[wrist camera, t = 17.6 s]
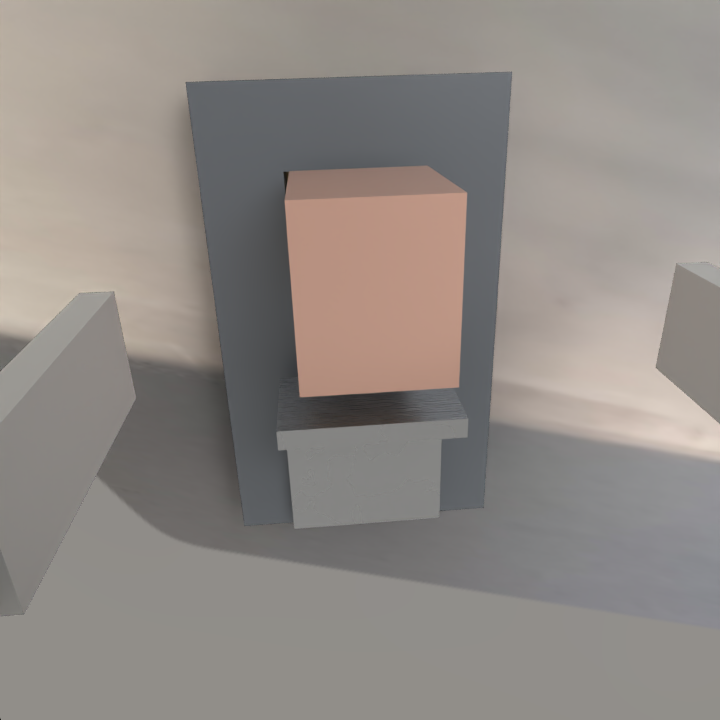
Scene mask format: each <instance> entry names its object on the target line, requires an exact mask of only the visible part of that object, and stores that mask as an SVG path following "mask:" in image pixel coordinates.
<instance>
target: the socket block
mask: <svg viewBox="0 0 720 720" xmlns="http://www.w3.org/2000/svg"><path fill="white" fill-rule="evenodd" d="M511 81H512V72H489V73H457V74H426V75H394V76H363V77H331V78H299V79H268V80H236V81H205V82H186V88H187V96H188V104H189V111H190V119H191V126H192V134H193V141H194V149H195V156H196V164H197V171H198V179H199V187H200V194H201V202H202V209H203V217H204V224H205V232H206V239H207V247H208V254H209V262H210V270H211V277H212V285H213V292H214V300H215V307H216V315H217V322H218V330H219V337H220V345H221V353H222V360H223V368H224V375H225V383H226V390H227V398H228V405H229V413H230V420H231V428H232V436H233V443H234V451H235V458H236V466H237V473H238V481H239V488H240V496H241V504H242V511H243V519H244V526H250V525H263V524H276V523H289V522H294V521H293V510H292V499H291V488H290V477H289V466H288V455H287V450H279V451H278V443H277V433H276V430H277V417H278V404H279V391H280V378H292V377H298V368H297V355H296V342H295V329H294V316H293V303H292V290H291V277H290V265H289V252H288V239H287V226H286V213H285V195H286V188H287V182H288V176H289V171H305V170H330V169H355V168H379V167H404V166H429V167H430V168H432V169H433V170H435V171H436V172H438V173H439V174H441V175H442V176H444V177H445V178H447V179H448V180H449V181H451V182H452V183H454V184H455V185H457V186H458V187H460V188H461V189H463V190H464V191H466V192H467V209H466V233H465V257H464V280H463V304H462V328H461V351H460V375H459V387H457V388H454V390H455V392H456V394H457V396H458V398H459V400H460V403H461V405H462V407H463V409H464V411H465V413H466V415H467V417H468V436H467V437H466V438H452V439H442V442H441V476H440V510H439V511H445V510H458V509H471V508H484V493H485V478H486V462H487V447H488V432H489V417H490V401H491V386H492V371H493V356H494V340H495V325H496V310H497V294H498V279H499V264H500V249H501V233H502V218H503V203H504V188H505V172H506V157H507V142H508V127H509V111H510V96H511Z"/></svg>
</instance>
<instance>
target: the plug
mask: <svg viewBox="0 0 720 720" xmlns="http://www.w3.org/2000/svg"><path fill="white" fill-rule="evenodd" d="M466 209H467V192H466V191H464V190H463V189H461V188H460V187H458V186H457V185H455V184H454V183H452V182H451V181H449V180H448V179H447V178H445V177H444V176H442V175H441V174H439V173H438V172H436V171H435V170H433V169H432V168H430V167H429V166H404V167H379V168H355V169H330V170H305V171H289V176H288V182H287V188H286V195H285V213H286V226H287V239H288V252H289V265H290V277H291V290H292V303H293V316H294V329H295V342H296V355H297V368H298V381H299V394H300V397H316V396H331V395H347V394H363V393H379V392H394V391H410V390H426V389H441V388H457V387H459V375H460V351H461V328H462V304H463V280H464V257H465V233H466Z"/></svg>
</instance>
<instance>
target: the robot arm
mask: <svg viewBox="0 0 720 720" xmlns="http://www.w3.org/2000/svg"><path fill="white" fill-rule="evenodd" d="M656 368H657V369H658V370H659V371H660V372H661V373H662V374H663V375H665V376H666V377H667V378H668V379H669V380H670V381H671V382H673V383H674V384H675V385H676V386H677V387H678V388H679V389H681V390H682V391H683V392H684V393H685V394H686V395H687V396H689V397H690V398H691V399H692V400H693V401H694V402H695V403H697V404H698V405H699V406H700V407H701V408H702V409H703V410H705V411H706V412H707V413H708V414H709V415H710V416H711V417H713V418H714V419H715V420H716V421H717V422H718V423H719V424H720V268H718V267H716V266H714V265H712V264H710V263H708V262H700V263H680V264H676V268H675V273H674V278H673V283H672V288H671V293H670V298H669V303H668V308H667V313H666V318H665V323H664V328H663V333H662V338H661V343H660V348H659V353H658V358H657V363H656ZM135 400H136V395H135V390H134V385H133V381H132V376H131V371H130V366H129V362H128V357H127V352H126V347H125V342H124V338H123V333H122V328H121V323H120V319H119V314H118V309H117V304H116V300H115V295H114V292H95V293H79V294H78V295H77V296H76V297H75V298H74V299H73V300H72V301H71V302H70V303H69V304H68V305H67V306H66V307H65V308H64V309H63V310H62V311H61V312H60V313H59V314H58V315H57V316H56V317H55V318H54V319H53V320H52V321H51V322H50V323H49V324H48V325H47V326H46V327H45V328H44V329H43V330H42V331H41V332H40V333H39V334H38V335H37V336H36V337H35V338H34V339H33V340H32V341H31V342H30V343H29V344H28V345H27V346H26V347H25V348H24V349H23V350H22V351H21V352H20V353H19V354H18V355H17V356H16V357H15V358H14V359H13V360H12V361H11V362H10V363H9V364H8V365H7V366H6V367H5V368H4V369H3V370H2V371H1V372H0V616H10V615H23V614H25V611H26V610H27V608H28V606H29V604H30V602H31V600H32V598H33V596H34V594H35V592H36V590H37V589H38V587H39V585H40V583H41V581H42V579H43V577H44V575H45V573H46V571H47V569H48V567H49V565H50V563H51V562H52V560H53V558H54V556H55V554H56V552H57V550H58V548H59V546H60V544H61V542H62V540H63V538H64V536H65V534H66V533H67V531H68V529H69V527H70V525H71V523H72V521H73V519H74V517H75V515H76V513H77V511H78V509H79V508H80V506H81V504H82V502H83V500H84V498H85V496H86V494H87V492H88V490H89V488H90V486H91V484H92V482H93V480H94V479H95V477H96V475H97V473H98V471H99V469H100V467H101V465H102V463H103V461H104V459H105V457H106V455H107V454H108V452H109V450H110V448H111V446H112V444H113V442H114V440H115V438H116V436H117V434H118V432H119V430H120V429H121V427H122V425H123V423H124V421H125V419H126V417H127V415H128V413H129V411H130V409H131V407H132V405H133V403H134V402H135ZM0 720H1V719H0Z"/></svg>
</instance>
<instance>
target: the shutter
mask: <svg viewBox="0 0 720 720" xmlns="http://www.w3.org/2000/svg"><path fill="white" fill-rule="evenodd" d="M276 433H277V443H278V451H279V450H287V455H288V466H289V477H290V488H291V499H292V510H293V521H294V529H300V528H313V527H326V526H339V525H351V524H364V523H377V522H390V521H403V520H416V519H429V518H439V510H440V476H441V442H442V439H452V438H466V437H467V436H468V417H467V415H466V413H465V411H464V409H463V407H462V405H461V403H460V400H459V398H458V396H457V394H456V392H455V390H454V388H441V389H426V390H410V391H394V392H379V393H363V394H347V395H331V396H316V397H300V394H299V381H298V377H292V378H280V391H279V404H278V417H277V430H276Z"/></svg>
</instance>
